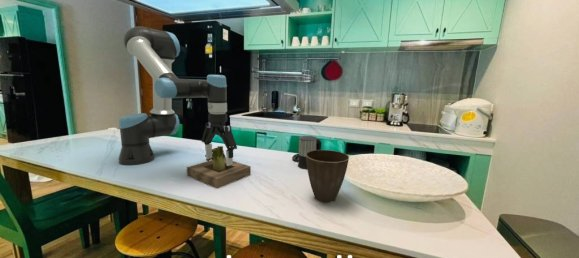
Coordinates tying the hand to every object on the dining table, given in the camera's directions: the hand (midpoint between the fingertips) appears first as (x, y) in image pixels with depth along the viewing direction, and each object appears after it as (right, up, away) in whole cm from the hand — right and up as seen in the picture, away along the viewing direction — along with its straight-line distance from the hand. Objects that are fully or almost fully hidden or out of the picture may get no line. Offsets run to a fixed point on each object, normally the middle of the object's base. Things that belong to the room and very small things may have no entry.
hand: (219, 161), depth 100 cm
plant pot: (+43, -11, -17) cm, 48 cm away
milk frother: (+38, -4, +20) cm, 43 cm away
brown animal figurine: (-7, -3, +20) cm, 21 cm away
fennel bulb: (0, -5, +1) cm, 5 cm away
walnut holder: (0, -6, +1) cm, 6 cm away
